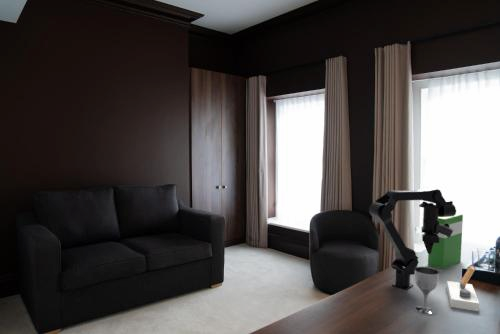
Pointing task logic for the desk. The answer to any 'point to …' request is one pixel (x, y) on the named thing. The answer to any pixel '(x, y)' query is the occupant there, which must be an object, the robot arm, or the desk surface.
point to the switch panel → (461, 301)
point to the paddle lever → (466, 277)
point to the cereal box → (447, 244)
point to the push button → (465, 293)
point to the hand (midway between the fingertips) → (429, 253)
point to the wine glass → (426, 286)
